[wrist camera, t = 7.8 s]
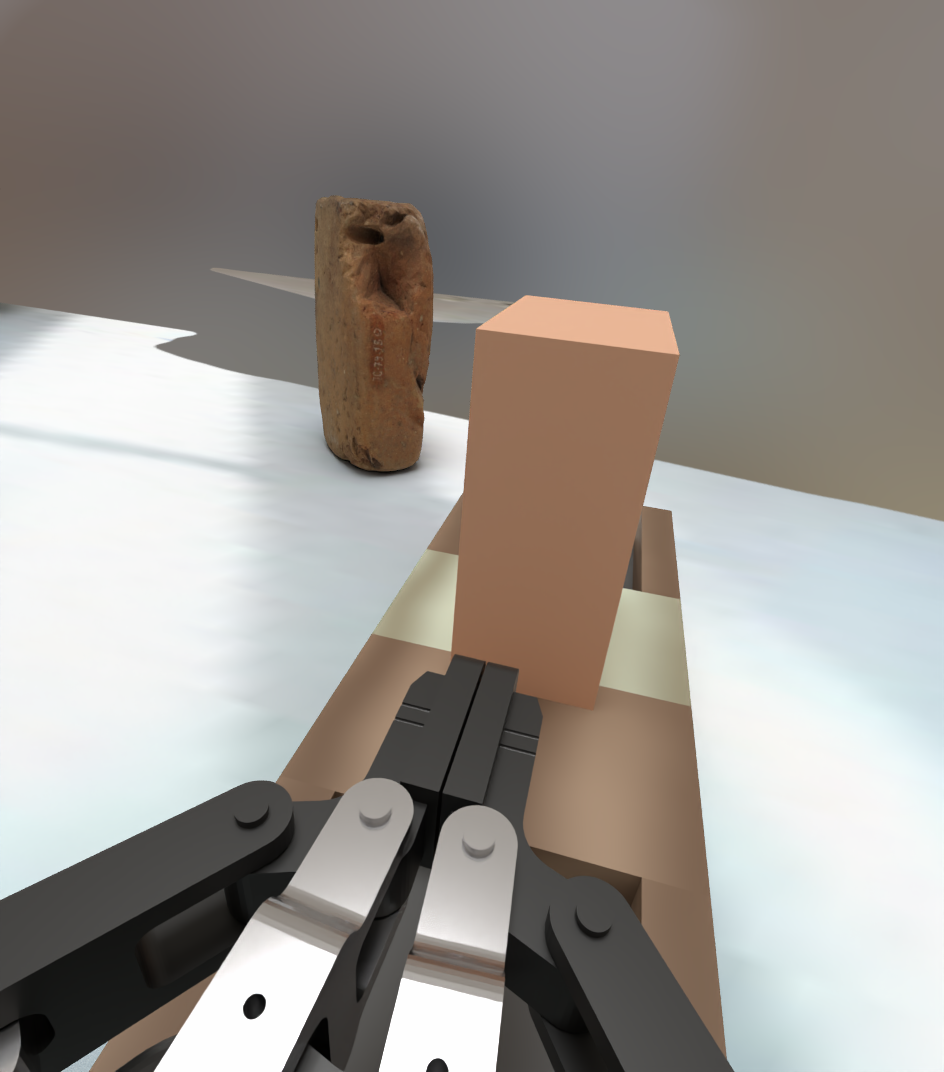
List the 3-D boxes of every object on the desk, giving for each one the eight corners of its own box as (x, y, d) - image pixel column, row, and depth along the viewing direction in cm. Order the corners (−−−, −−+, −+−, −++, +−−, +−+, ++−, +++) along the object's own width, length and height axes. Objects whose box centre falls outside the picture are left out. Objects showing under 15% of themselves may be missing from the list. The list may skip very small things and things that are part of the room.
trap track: (12, 1306, 12) (-38, 1267, 11) (470, 513, 45) (473, 476, 43) (726, 1662, 10) (789, 1675, 8) (661, 548, 42) (671, 511, 41)
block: (316, 437, 56) (303, 192, 46) (391, 430, 59) (394, 199, 49) (351, 483, 48) (344, 197, 38) (436, 472, 51) (450, 205, 41)
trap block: (449, 676, 25) (475, 328, 18) (495, 567, 33) (526, 295, 26) (593, 710, 24) (679, 354, 17) (605, 590, 31) (668, 311, 25)
